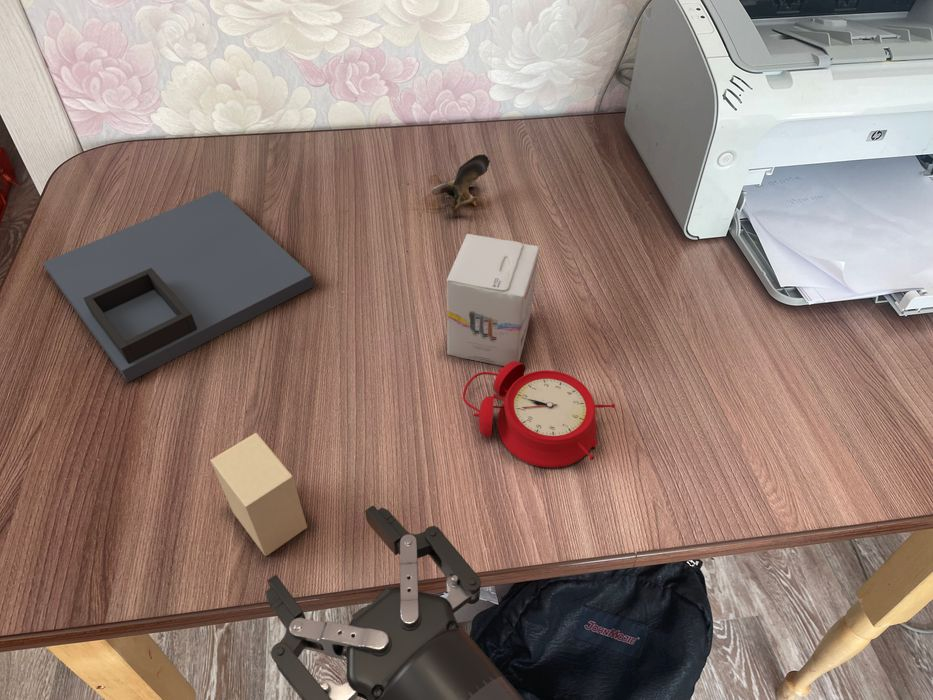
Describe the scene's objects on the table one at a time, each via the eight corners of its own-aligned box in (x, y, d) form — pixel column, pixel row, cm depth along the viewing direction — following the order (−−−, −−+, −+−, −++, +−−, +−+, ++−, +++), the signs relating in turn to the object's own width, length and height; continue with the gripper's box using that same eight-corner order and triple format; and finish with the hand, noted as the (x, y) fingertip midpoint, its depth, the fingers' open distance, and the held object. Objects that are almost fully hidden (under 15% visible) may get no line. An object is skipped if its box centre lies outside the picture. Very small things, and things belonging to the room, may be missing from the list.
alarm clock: (594, 468, 67) (455, 394, 69) (571, 496, 72) (442, 426, 74) (624, 391, 74) (497, 325, 75) (601, 421, 79) (482, 358, 80)
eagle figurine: (492, 217, 97) (501, 170, 102) (464, 182, 92) (475, 135, 97) (447, 231, 101) (458, 186, 106) (418, 199, 96) (430, 153, 101)
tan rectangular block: (265, 557, 64) (245, 507, 58) (232, 512, 67) (209, 459, 61) (307, 527, 66) (292, 476, 60) (273, 485, 69) (256, 431, 63)
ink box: (463, 305, 87) (466, 228, 78) (531, 319, 86) (542, 243, 77) (444, 355, 81) (444, 279, 73) (516, 371, 80) (526, 295, 71)
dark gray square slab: (127, 382, 77) (113, 355, 74) (49, 274, 89) (33, 246, 85) (313, 286, 88) (308, 259, 85) (222, 201, 100) (215, 174, 96)
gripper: (549, 628, 45) (395, 465, 53) (370, 799, 39) (224, 585, 47) (538, 667, 51) (400, 515, 59) (380, 823, 45) (248, 627, 53)
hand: (322, 546), depth 53 cm, fingers open, 8 cm apart
